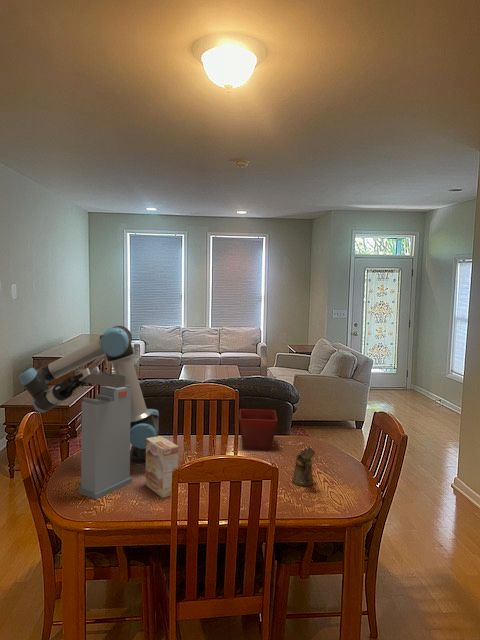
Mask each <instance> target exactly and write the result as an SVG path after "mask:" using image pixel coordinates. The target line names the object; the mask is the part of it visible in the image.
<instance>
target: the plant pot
mask: <svg viewBox="0 0 480 640" xmlns="http://www.w3.org/2000/svg"><path fill="white" fill-rule="evenodd" d="M238 418H239V421H238V422H239V429H240V435H241V436H240V437H241V440H242V446H243V447H244V450H251V451H253V450H255V451H256V450H257V451H269V450H270V449H271V446H272V444H273V440H274V437H275V434H276V430H277V425H278V417H277V412H276V410H275V409H255V408H254V409H253V408H250V409H249V408H240V409H239V417H238Z"/></svg>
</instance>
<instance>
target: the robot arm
mask: <svg viewBox="0 0 480 640" xmlns="http://www.w3.org/2000/svg"><path fill="white" fill-rule="evenodd" d="M132 335H133V334H132V333H131V331H130V330H129V329H128V328H127V327H125V326H123V325H116V326H112V327H111V328H108V329H106V330H105V331H104V332H103V333H102V334H101V335H99V336H98V339H96V340H94V341H92V342H90V343H88V344H86V345H83V346H82V347H80V348H78V349H76V350H73V351H72V352H70V353H68V354H65V356H62V357H61V358H58V359H56V360H54V361H52V362H50V363H48V364H45V365H44V366H42V367H39V368H38V369H35V368H34V367H30V368H28V369H26V370H25V371H23V372H22V373H21V374H20V375H18V377H17V379H18V380H19V382H20V383H21V385H22V386H23V387H24V388H25V389H26V391H27V392H28V393H29V395H31V397H32V399H33V401H32V405H33V408H34V410H35V411H36V412H38V413H46V412H48V411H50V410H52V409H54V408H55V407H56V406H57V405H59V406H60V405H61V403H62V402H64V401H66V400H67V399H69V398H70V397H71V396H72V395H73V392H74V391H75V390H76V389H78V388H83V387H84V386H86V384H88V383H87V382H81V380H82V379H84V378H86V377H87V376H89V375H90V372H89V370H90V369H89V368H88V367H87V368H85V370H83V371H82V372H80V373H79V374H77V376H76V375H75V374H74V375H73V376H69V377H67V378H66V379H64V380H60V381H59V382H57V383H55V384H53V386H51V387H49V386H48V384H49V383H50V382H52V381H55V380H57V379H58V378H60V377H63V376H64V375H66V374H69V373H70V372H72V371H75V370H78V369H79V368H80V367H83V366H85V365H86V364H88V363H91V362H93V361H94V360H96V359H99V358H100V357H102V356H104V355H105V356H106V357H105V358H106V361H107V363H109V364H111V366H112V369H113V370H114V374H116V375H122V376H125V385H130V386H131V417H130V445H131V446H130V462H134V463H137V464H146V438H150V437H157V436H159V423H160V422H159V419H160V418H159V417H160V413H159V410H158V409H154V408H147V405H146V401H145V399H144V395H143V392H142V389H141V386H140V381H139V378H138V374H137V371H136V368H135V365H134V362H133V357H134V355H135V351H134V349H133V346H132V342H133V336H132ZM91 370H92V371H98V372H101V371H100V369H99V366H98V365H97V366H95V367H94V368H92V369H91ZM78 380H79V381H78Z"/></svg>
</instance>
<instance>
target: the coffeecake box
mask: <svg viewBox="0 0 480 640" xmlns="http://www.w3.org/2000/svg"><path fill="white" fill-rule="evenodd" d="M177 467H178V468H179V446H178V445H177V444H175V443H174V442H172V441H170V440H168V439H167V438H165V437H163V436H162V435H158V436H157V437H150V438H146V463H145V479H144V480H145V481H144V483H145V484H144V485H145V486H146V487H148V488H149V489H150V490H152V491H153V492H154V493H155V494H157V495H158V496H159V497H160V498H162V499H163V497H164V498H167V497H171V496H172V495H171V483H172V471H173V469H175V468H177Z"/></svg>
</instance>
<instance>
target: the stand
mask: <svg viewBox="0 0 480 640" xmlns="http://www.w3.org/2000/svg"><path fill="white" fill-rule="evenodd" d="M130 417H131V386H130V385H125V386H124V387H120V388H114V387H109V386H103V385H100V389H99V394H96V398H89V397H86V396H85V397H83V399H82V402H81V438H80V439H81V442H80V443H81V444H80V445H81V448H80V450H81V451H80V452H81V453H80V456H81V457H80V458H81V461H80V463H81V464H80V469H81V470H80V473H81V474H80V479H81V480H80V487H78V488H77V489H78V490H77V491H78V494H80V495H83V496H86V497H88V498H90V499H94V500H98V499H100V498H103V497H104V496H107V495H109V494H111V493H113V492H115V491H117V490H119V489H122V488H124V487H126V486H127V485H131V484H132V483H133V477H131V472H130V471H131V469H130V468H131V467H130V466H131V465H130V464H131V460H130V450H131V443H130Z"/></svg>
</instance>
